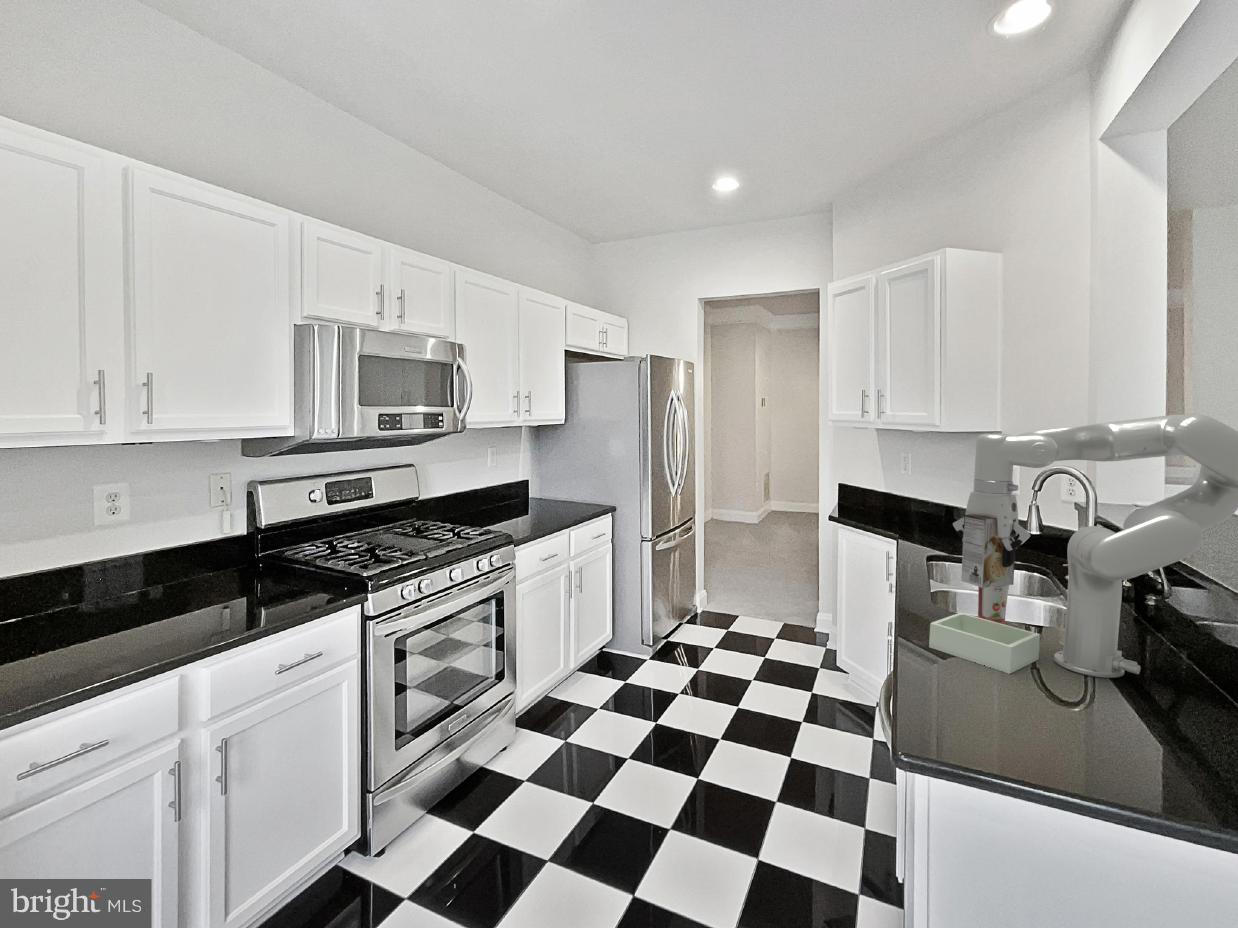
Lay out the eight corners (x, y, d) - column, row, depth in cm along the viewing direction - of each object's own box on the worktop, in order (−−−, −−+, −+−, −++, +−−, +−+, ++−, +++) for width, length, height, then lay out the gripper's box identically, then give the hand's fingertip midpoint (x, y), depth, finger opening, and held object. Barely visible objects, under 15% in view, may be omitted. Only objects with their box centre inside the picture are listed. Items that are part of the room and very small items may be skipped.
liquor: (1001, 627, 163) (1008, 522, 161) (1011, 637, 156) (1018, 528, 154) (970, 625, 165) (976, 521, 163) (979, 634, 158) (985, 526, 155)
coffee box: (990, 577, 149) (994, 511, 148) (1014, 585, 143) (1018, 516, 142) (959, 580, 147) (963, 513, 145) (982, 588, 140) (986, 518, 139)
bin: (1038, 659, 143) (1040, 634, 142) (1009, 673, 135) (1011, 647, 135) (959, 635, 158) (960, 612, 157) (929, 647, 150) (930, 623, 149)
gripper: (1042, 490, 138) (1036, 568, 139) (962, 482, 152) (958, 553, 154) (1026, 493, 133) (1021, 573, 135) (946, 484, 148) (942, 557, 149)
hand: (987, 562), depth 144 cm, fingers closed on coffee box, 7 cm apart
